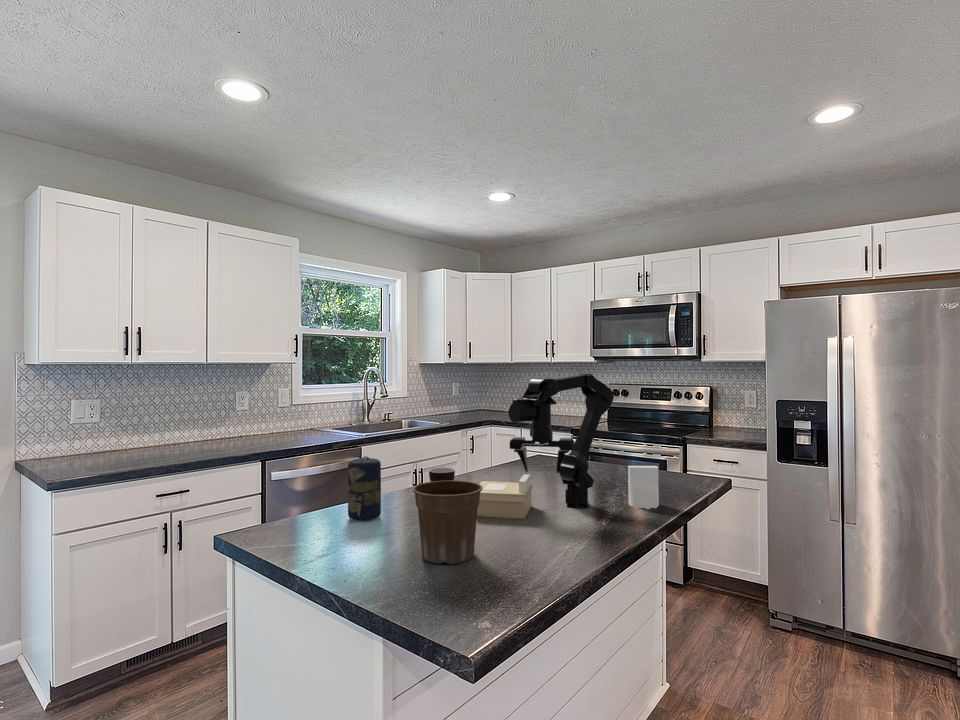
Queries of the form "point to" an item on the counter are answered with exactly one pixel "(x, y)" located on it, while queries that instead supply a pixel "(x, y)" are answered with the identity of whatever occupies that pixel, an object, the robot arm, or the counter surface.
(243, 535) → the counter surface
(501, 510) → the mailer box
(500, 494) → the lid
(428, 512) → the plant pot
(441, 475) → the coffee mug
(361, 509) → the canister
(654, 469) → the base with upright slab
